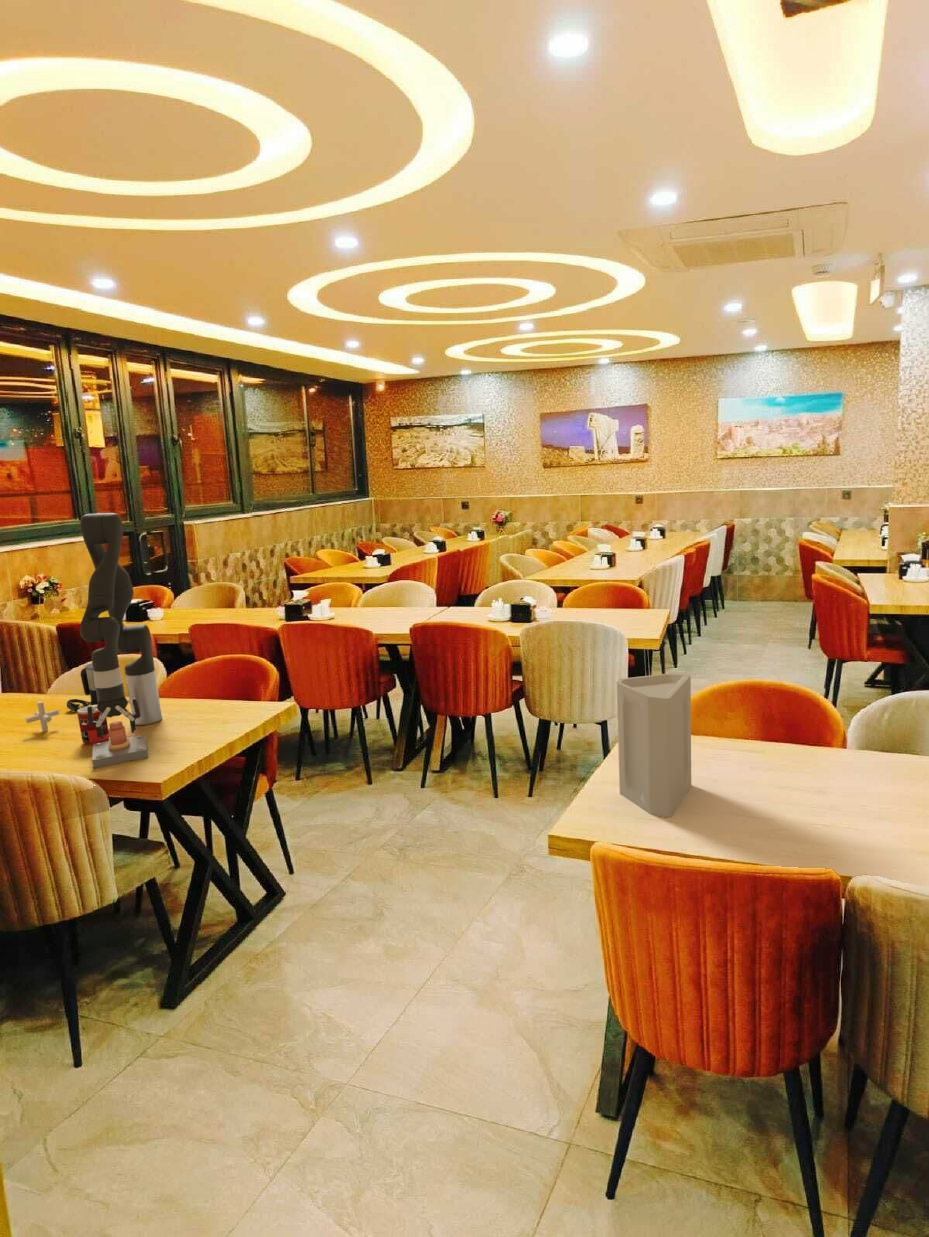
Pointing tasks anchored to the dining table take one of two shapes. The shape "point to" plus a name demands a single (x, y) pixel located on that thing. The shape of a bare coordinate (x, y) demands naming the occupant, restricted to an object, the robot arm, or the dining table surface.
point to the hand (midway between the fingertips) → (117, 734)
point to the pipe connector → (42, 716)
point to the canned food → (91, 727)
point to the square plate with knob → (119, 751)
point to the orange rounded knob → (117, 733)
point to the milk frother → (85, 689)
